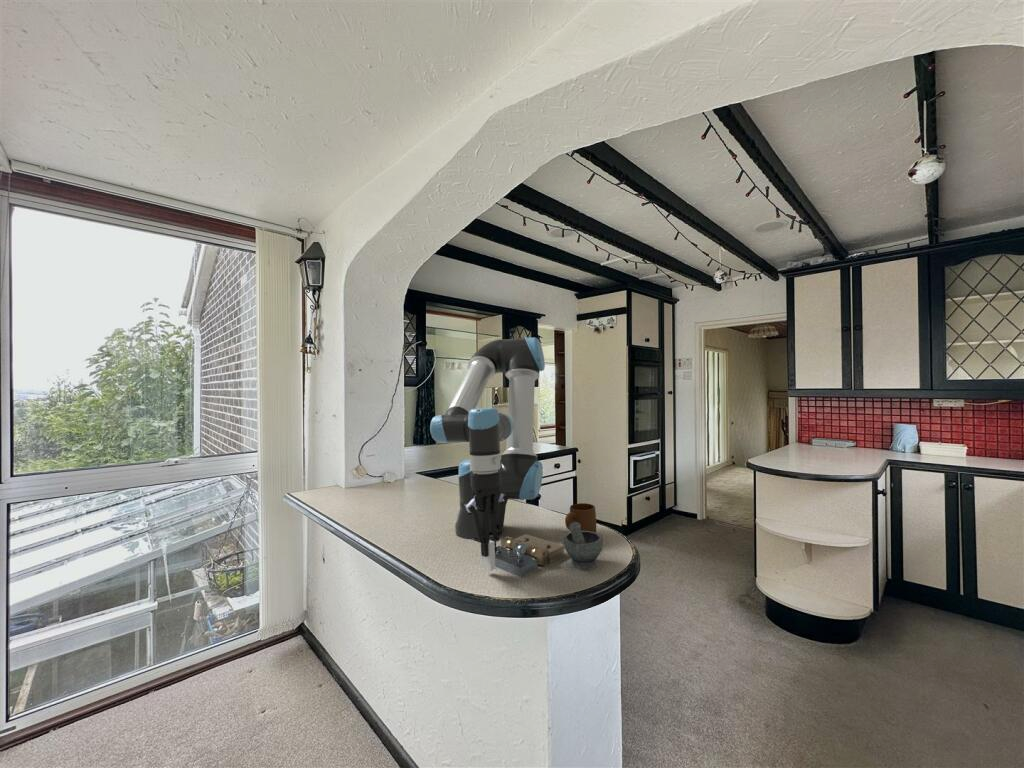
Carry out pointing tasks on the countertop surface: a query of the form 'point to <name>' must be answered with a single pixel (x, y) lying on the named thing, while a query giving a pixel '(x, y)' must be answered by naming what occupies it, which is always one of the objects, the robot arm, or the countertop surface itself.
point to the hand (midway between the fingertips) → (489, 567)
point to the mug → (582, 516)
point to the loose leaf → (515, 560)
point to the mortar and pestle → (582, 547)
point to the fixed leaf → (536, 548)
